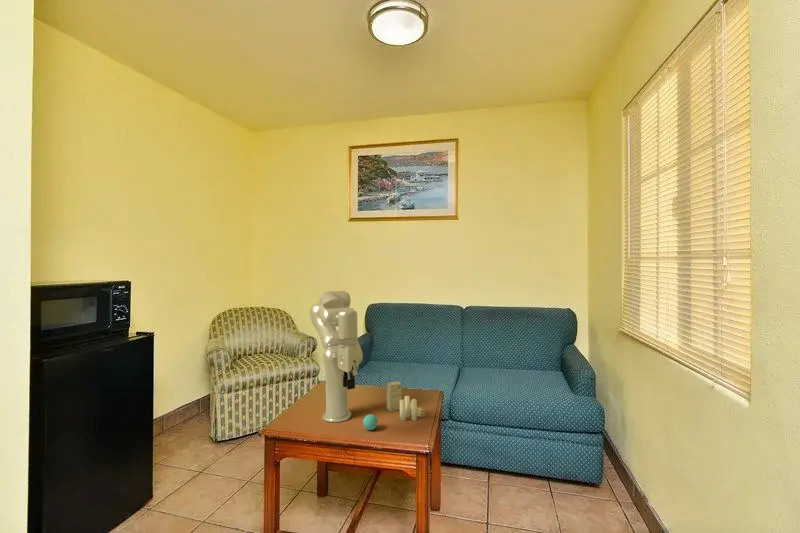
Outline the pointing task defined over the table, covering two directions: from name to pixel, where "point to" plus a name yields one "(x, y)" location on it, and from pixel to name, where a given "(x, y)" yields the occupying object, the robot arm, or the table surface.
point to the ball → (370, 422)
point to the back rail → (419, 411)
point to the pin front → (402, 410)
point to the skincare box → (394, 395)
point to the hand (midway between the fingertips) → (348, 387)
